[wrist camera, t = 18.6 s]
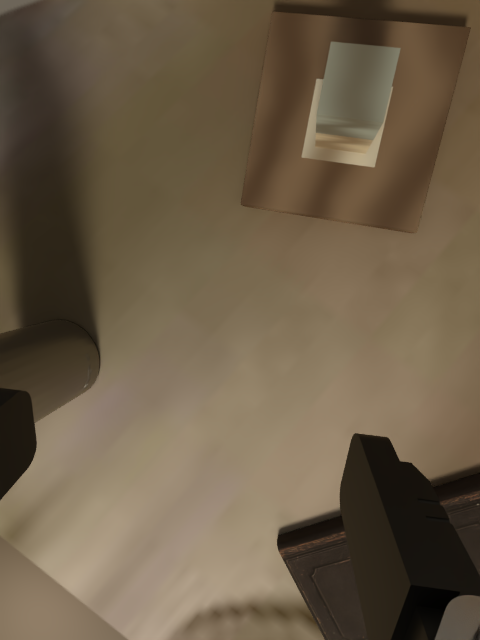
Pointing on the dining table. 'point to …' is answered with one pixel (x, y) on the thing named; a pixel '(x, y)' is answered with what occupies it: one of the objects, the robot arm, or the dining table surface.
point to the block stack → (354, 95)
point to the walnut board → (389, 143)
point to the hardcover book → (336, 567)
